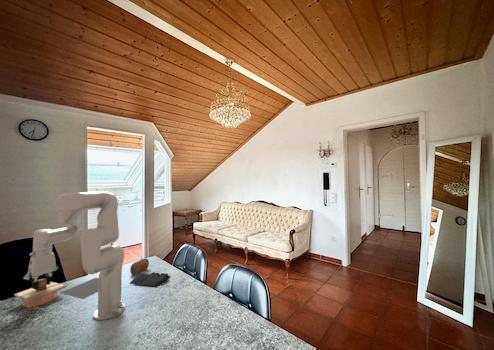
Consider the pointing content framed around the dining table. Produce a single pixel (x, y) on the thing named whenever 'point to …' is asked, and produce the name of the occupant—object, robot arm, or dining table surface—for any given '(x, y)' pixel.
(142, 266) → the tin
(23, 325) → the dining table surface
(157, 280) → the dark slate chunk
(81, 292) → the rubber mat
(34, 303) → the terracotta bowl
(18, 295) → the beech lid
